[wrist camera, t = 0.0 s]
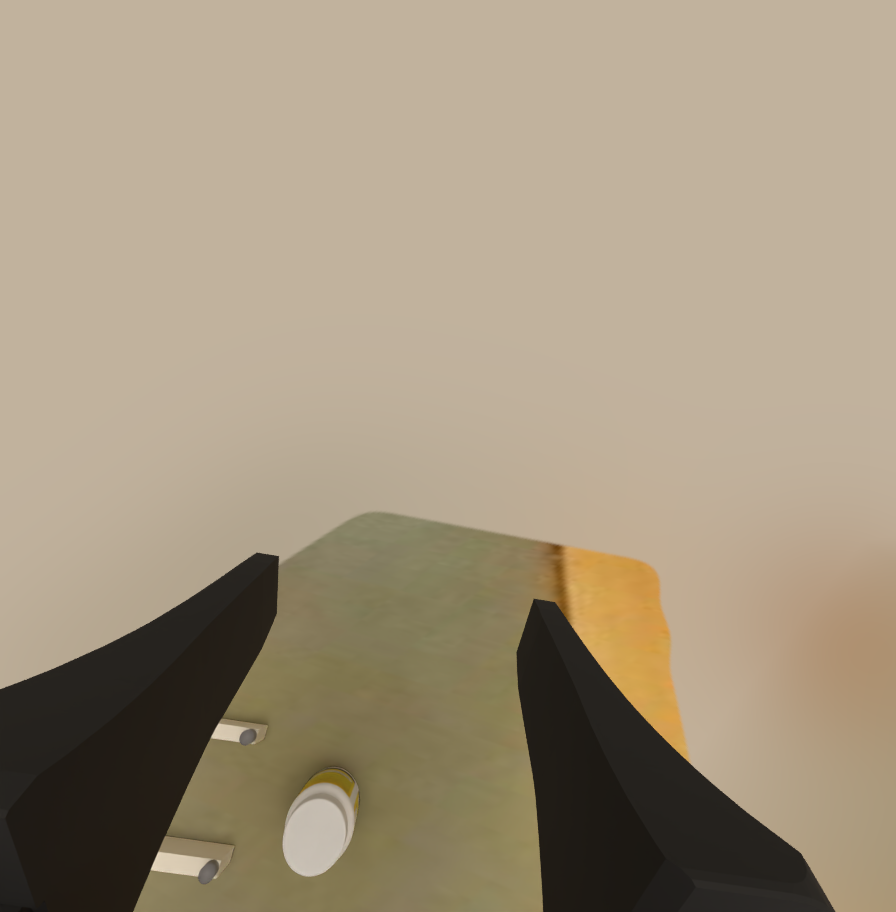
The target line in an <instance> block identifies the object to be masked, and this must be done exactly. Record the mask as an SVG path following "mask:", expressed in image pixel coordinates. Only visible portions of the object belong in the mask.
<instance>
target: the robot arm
mask: <svg viewBox="0 0 896 912" xmlns="http://www.w3.org/2000/svg"><path fill="white" fill-rule="evenodd" d="M278 565H279V556H274V555H268V554H262V553H256V554H254V555H253V556H251V557H250V558H248V559H247V560H245V561H244V562H242V563H241V564H239V565H238V566H236V567H235V568H234V569H232V570H231V571H229V572H228V573H226V574H225V575H224V576H222V577H221V578H219V579H218V580H216V581H215V582H213V583H212V584H210V585H209V586H207V587H206V588H205V589H203V590H201V591H200V592H198V593H197V594H195V595H194V596H192V597H191V598H189V599H188V600H186V601H185V602H183V603H181V604H180V605H178V606H176V607H175V608H173V609H171V610H170V611H169V612H166V613H165V614H163V615H162V616H160V617H158V618H157V619H155V620H153V621H152V622H150V623H148V624H146V625H144V626H142V627H140V628H139V629H137V630H135V631H133V632H131V633H129V634H127V635H125V636H123V637H121V638H120V639H117V640H115V641H113V642H111V643H109V644H107V645H105V646H103V647H101V648H99V649H97V650H94V651H92V652H90V653H88V654H85V655H83V656H81V657H79V658H77V659H74V660H72V661H70V662H68V663H65V664H63V665H61V666H59V667H56V668H54V669H52V670H49V671H47V672H44V673H42V674H39V675H37V676H34V677H32V678H29V679H27V680H24V681H21V682H19V683H16V684H13V685H11V686H8V687H5V688H3V689H0V912H133V911H134V908H135V906H136V903H137V901H138V898H139V896H140V893H141V891H142V889H143V886H144V884H145V882H146V879H147V877H148V875H149V872H150V870H151V868H152V865H153V863H154V861H155V858H156V856H157V854H158V851H159V849H160V847H161V844H162V842H163V840H164V837H165V835H166V833H167V831H168V828H169V826H170V824H171V822H172V820H173V817H174V815H175V813H176V811H177V808H178V806H179V804H180V802H181V800H182V797H183V795H184V793H185V791H186V788H187V786H188V784H189V782H190V780H191V778H192V776H193V773H194V771H195V769H196V767H197V765H198V763H199V761H200V758H201V756H202V754H203V752H204V750H205V748H206V746H207V744H208V742H209V740H210V738H211V736H212V734H213V733H214V731H215V729H216V727H217V725H218V724H219V722H220V720H221V718H222V717H223V715H224V713H225V712H226V710H227V708H228V706H229V705H230V703H231V701H232V699H233V698H234V696H235V694H236V693H237V691H238V689H239V687H240V686H241V684H242V682H243V681H244V679H245V677H246V675H247V674H248V672H249V670H250V668H251V667H252V665H253V663H254V661H255V660H256V658H257V656H258V654H259V653H260V651H261V649H262V647H263V645H264V642H265V640H266V638H267V636H268V633H269V631H270V629H271V626H272V624H273V621H274V619H275V617H276V614H277V591H278ZM517 674H518V690H519V696H520V702H521V708H522V715H523V721H524V726H525V732H526V738H527V744H528V750H529V756H530V761H531V767H532V773H533V780H534V788H535V796H536V808H537V820H538V833H539V847H540V862H541V878H542V895H543V912H835V910H834V909H833V907H832V905H831V904H830V902H829V900H828V898H827V897H826V895H825V893H824V892H823V890H822V888H821V886H820V885H819V883H818V881H817V879H816V878H815V876H814V874H813V873H812V871H811V869H810V867H809V866H808V864H807V862H806V861H805V859H804V858H803V856H802V854H801V853H800V852H799V851H797V850H796V849H795V848H793V847H792V846H790V845H789V844H788V843H787V842H785V841H784V840H783V839H781V838H780V837H779V836H777V835H776V834H775V833H773V832H772V831H770V830H769V829H768V828H767V827H765V826H764V825H763V824H761V823H760V822H759V821H758V820H756V819H755V818H754V817H752V816H751V815H750V814H748V813H747V812H746V811H744V810H743V809H742V808H740V806H738V805H737V804H736V803H735V802H734V801H732V800H731V799H730V798H729V797H728V796H726V795H725V794H724V793H723V792H722V791H720V790H719V789H718V788H717V787H716V786H714V785H713V784H712V783H711V782H710V781H709V780H708V779H706V778H705V777H704V776H703V775H702V774H701V773H699V772H698V771H697V770H696V769H695V768H694V767H693V766H692V765H691V764H690V763H689V762H688V761H687V760H686V759H684V758H683V757H682V756H681V755H680V754H679V753H678V752H677V751H676V750H675V749H674V748H673V747H672V746H671V745H670V744H669V743H668V742H667V741H666V740H665V739H664V738H663V737H662V736H661V735H660V734H659V733H658V732H657V731H656V730H655V729H654V728H653V727H652V726H651V725H650V724H649V723H648V722H647V721H646V720H645V718H644V717H643V716H642V715H641V714H640V713H639V712H638V711H637V710H636V709H635V708H634V707H633V705H632V704H631V703H630V702H629V701H628V700H627V699H626V697H625V696H624V695H623V694H622V693H621V691H620V690H619V689H618V688H617V686H616V685H615V684H614V683H613V682H612V680H611V679H610V678H609V677H608V675H607V674H606V673H605V672H604V670H603V669H602V668H601V666H600V665H599V664H598V662H597V661H596V660H595V658H594V657H593V656H592V654H591V653H590V652H589V650H588V649H587V648H586V646H585V645H584V643H583V642H582V641H581V639H580V638H579V636H578V635H577V633H576V632H575V631H574V629H573V628H572V626H571V625H570V623H569V622H568V620H567V619H566V617H565V616H564V614H563V613H562V612H561V610H560V609H559V607H558V606H557V604H556V603H555V602H550V601H544V600H538V599H534V600H533V603H532V606H531V609H530V612H529V615H528V619H527V622H526V625H525V628H524V631H523V634H522V637H521V640H520V644H519V647H518V650H517Z"/></svg>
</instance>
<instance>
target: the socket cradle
mask: <svg viewBox="0 0 896 912" xmlns="http://www.w3.org/2000/svg"><path fill="white" fill-rule="evenodd" d="M267 727H268V725H262V724H256V723H249V722H242V721H236V720H229V719H222V718H221V720H220V722H219V724H218V725H217V727H216V729H215V731H214V733H213V734H212V736H211V738H215V739H221V740H228V741H235V742H240V743H241V744H242V745H248V744H256V743H258V742H260V741H262V740H264V738H265V734H266V731H267ZM233 850H234V845H227V844H220V843H212V842H205V841H198V840H191V839H184V838H177V837H169V836H165V837H164V840H163V842H162V844H161V847H160V849H159V851H158V854H157V856H156V858H155V861H154V863H153V865H152V868H151V870H154V871H161V872H168V873H176V874H183V875H190V876H198V879H199V882H200V883H201V884H207V883H209V882H210V881H211V880H212V879H216V878H217V877H218V876H219V875H220V874H221V872H222V871H223V870H224V869H225V868H226V867H227V865H228V864H229V863H230V861H231V857H232V853H233Z"/></svg>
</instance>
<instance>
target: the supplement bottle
mask: <svg viewBox="0 0 896 912" xmlns="http://www.w3.org/2000/svg"><path fill="white" fill-rule="evenodd" d="M359 803H360V794H359V789H358V785H357V783H356V781H355V779H354V778H353V777H352V775H351V774H350V773H349V772H347V771H346V770H344V769H342V768H339V767H329V768H325V769H323V770H321V771H319V772H317V773H316V774H315V775H314V776H312V777H311V778H310V779H309V781H308V782H307V783H306V785H305V786H304V788H303V789H302V790H301V792H300V793H299V795H298V796H297V797H296V799H295V800H294V802H293V803H292V805H291V807H290V809H289V812H288V814H287V818H286V822H285V830H284V834H283V852H284V857H285V859H286V862H287V863H288V865H289V866H290V868H291V869H292V870H293V871H294V872H296V873H298V874H299V875H302V876H307V877H310V876H316V875H319V874H322V873H324V872H325V871H327V870H328V869H329V868H330V867H331V866H332V865H333V864H334V863H335V862H336V861H337V860H338V859H339V858H340V857H341V855H342V854H343V853H344V852H345V850H346V848H347V847H348V845H349V843H350V841H351V838H352V835H353V832H354V827H355V823H356V818H357V814H358V810H359Z"/></svg>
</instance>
